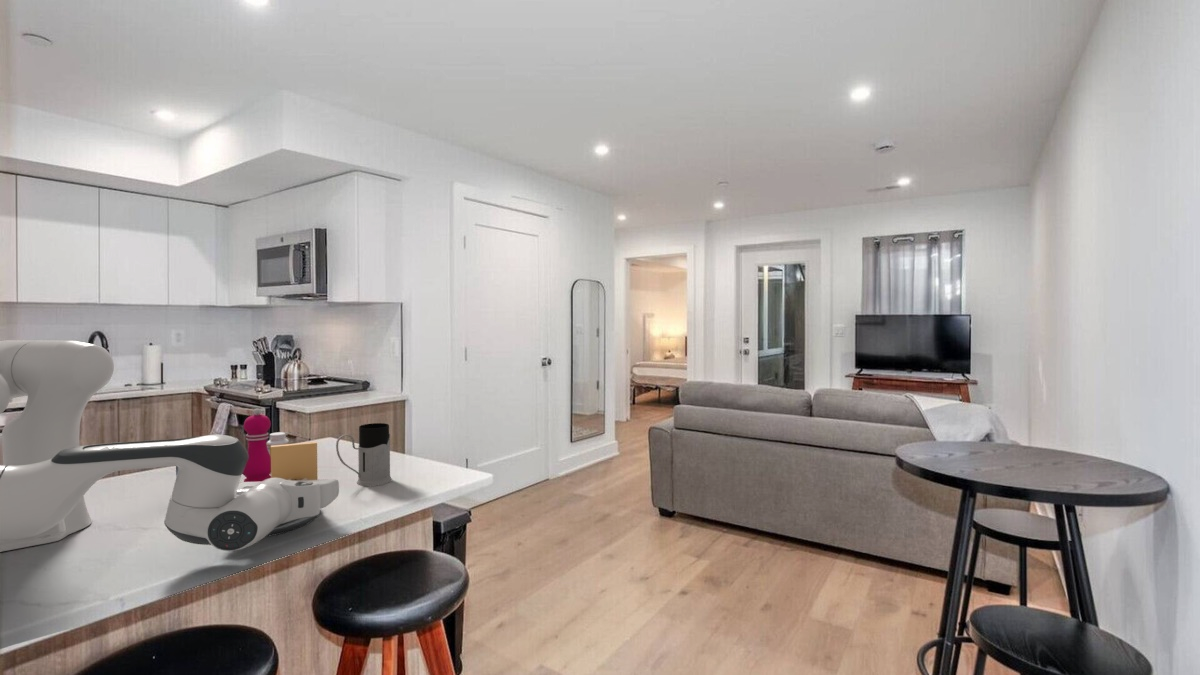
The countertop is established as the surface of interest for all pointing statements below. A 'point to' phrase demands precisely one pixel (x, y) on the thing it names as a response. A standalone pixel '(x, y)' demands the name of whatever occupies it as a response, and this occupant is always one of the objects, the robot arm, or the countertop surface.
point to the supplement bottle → (276, 440)
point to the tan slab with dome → (294, 461)
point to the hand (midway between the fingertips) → (298, 481)
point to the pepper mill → (257, 448)
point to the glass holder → (372, 454)
